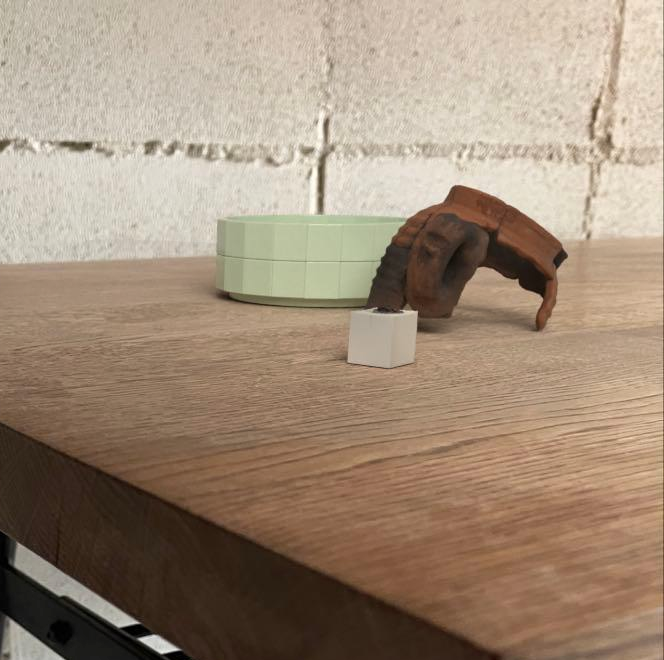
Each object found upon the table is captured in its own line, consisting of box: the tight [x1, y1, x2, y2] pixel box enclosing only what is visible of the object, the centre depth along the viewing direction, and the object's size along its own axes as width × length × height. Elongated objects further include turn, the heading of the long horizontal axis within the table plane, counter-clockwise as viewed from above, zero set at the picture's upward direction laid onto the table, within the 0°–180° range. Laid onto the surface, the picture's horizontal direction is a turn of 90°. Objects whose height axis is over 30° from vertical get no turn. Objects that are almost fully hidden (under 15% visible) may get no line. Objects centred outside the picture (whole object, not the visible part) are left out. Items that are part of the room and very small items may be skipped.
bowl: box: [214, 214, 409, 308], centre depth 74 cm, size 13×13×5 cm
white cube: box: [346, 305, 419, 369], centre depth 50 cm, size 2×2×2 cm
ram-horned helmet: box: [363, 184, 569, 331], centre depth 60 cm, size 12×10×8 cm
